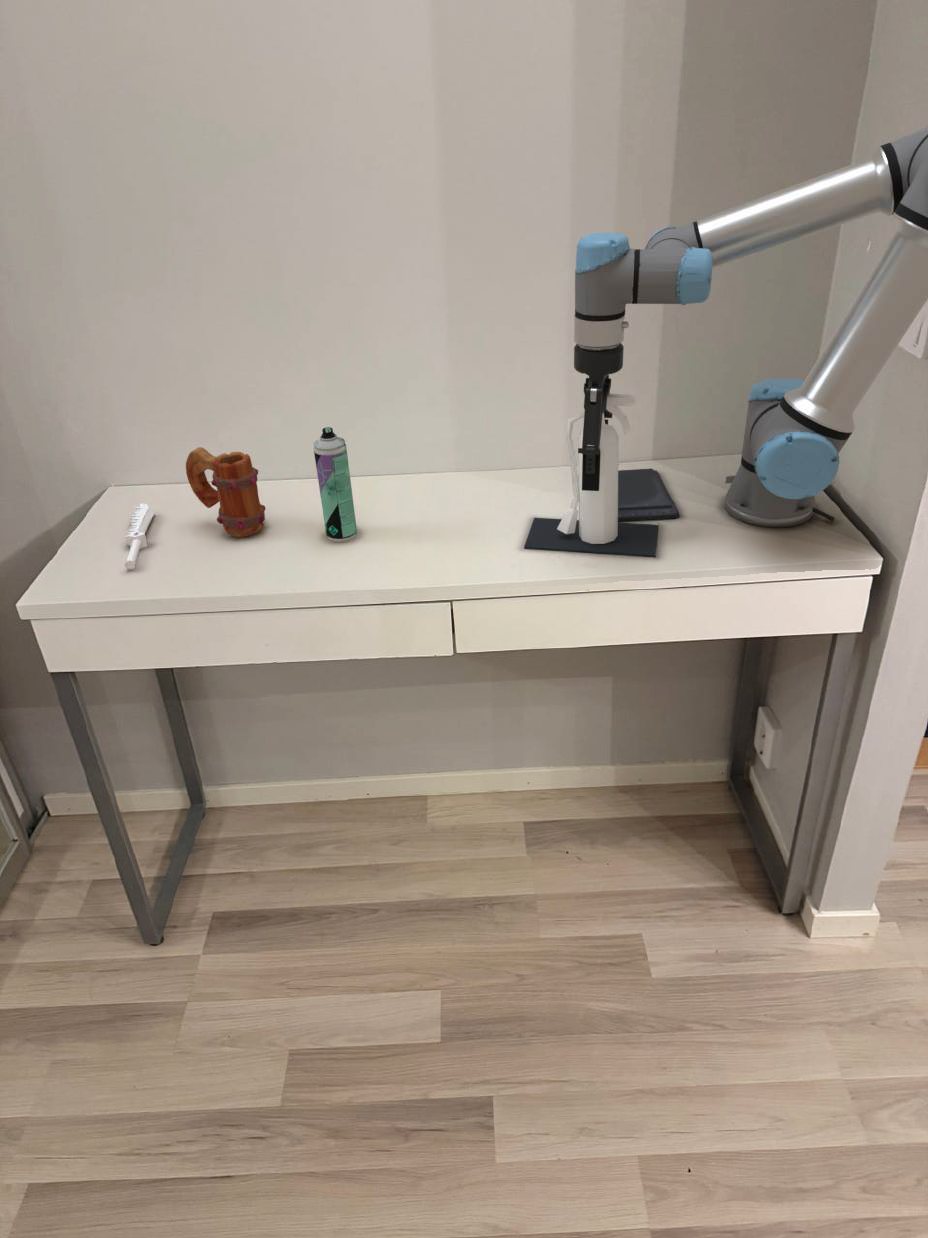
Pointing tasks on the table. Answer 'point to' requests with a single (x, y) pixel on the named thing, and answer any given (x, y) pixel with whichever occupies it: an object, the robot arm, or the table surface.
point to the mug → (228, 489)
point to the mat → (627, 542)
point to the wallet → (643, 496)
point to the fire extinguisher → (599, 505)
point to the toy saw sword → (138, 532)
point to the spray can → (335, 486)
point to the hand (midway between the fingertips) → (594, 472)
